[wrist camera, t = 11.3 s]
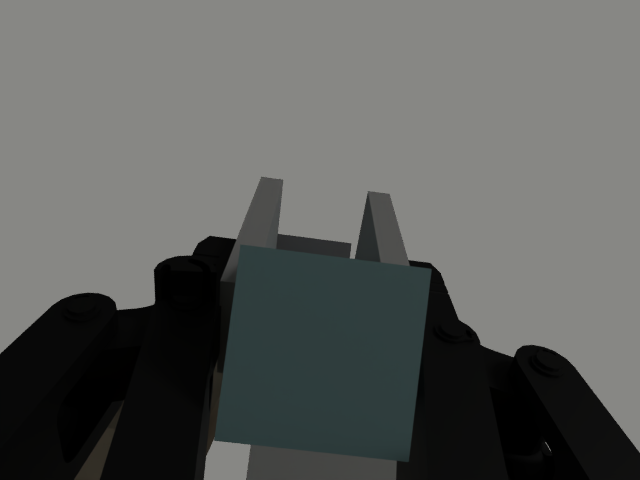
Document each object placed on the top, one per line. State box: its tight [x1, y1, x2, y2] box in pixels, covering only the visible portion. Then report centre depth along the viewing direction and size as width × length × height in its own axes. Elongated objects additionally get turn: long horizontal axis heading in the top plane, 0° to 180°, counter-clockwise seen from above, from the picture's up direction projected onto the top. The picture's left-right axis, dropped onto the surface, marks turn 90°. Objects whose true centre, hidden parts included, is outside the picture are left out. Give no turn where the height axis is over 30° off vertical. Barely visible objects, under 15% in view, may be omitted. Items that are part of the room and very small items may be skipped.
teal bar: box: [214, 234, 432, 462], centre depth 20 cm, size 5×25×4 cm, turn 2°
